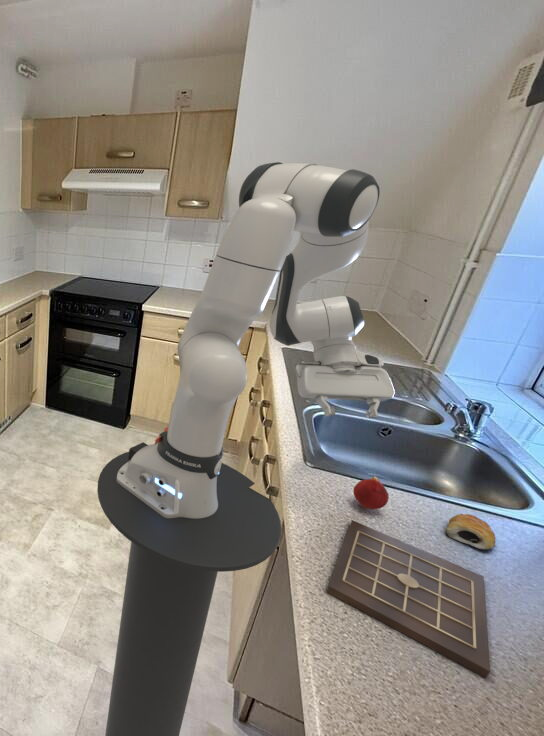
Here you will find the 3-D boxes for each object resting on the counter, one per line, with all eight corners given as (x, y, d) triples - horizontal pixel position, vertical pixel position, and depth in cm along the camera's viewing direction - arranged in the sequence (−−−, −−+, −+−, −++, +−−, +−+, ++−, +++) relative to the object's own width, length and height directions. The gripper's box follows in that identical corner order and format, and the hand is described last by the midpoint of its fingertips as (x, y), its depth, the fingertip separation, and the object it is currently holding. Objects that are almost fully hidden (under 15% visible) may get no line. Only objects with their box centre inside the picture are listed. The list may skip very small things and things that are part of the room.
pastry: (450, 515, 89) (457, 500, 87) (496, 534, 84) (504, 519, 82) (442, 535, 83) (449, 520, 82) (490, 557, 78) (498, 541, 77)
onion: (386, 510, 90) (398, 480, 87) (376, 521, 87) (388, 490, 84) (355, 495, 94) (365, 466, 91) (344, 505, 91) (355, 475, 88)
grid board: (327, 592, 70) (329, 585, 70) (349, 525, 85) (352, 519, 85) (485, 678, 58) (490, 670, 57) (480, 582, 73) (484, 575, 72)
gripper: (300, 355, 100) (312, 410, 94) (389, 359, 98) (407, 415, 92) (287, 365, 105) (297, 418, 100) (371, 369, 104) (387, 422, 98)
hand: (351, 416), depth 96 cm, fingers open, 8 cm apart
